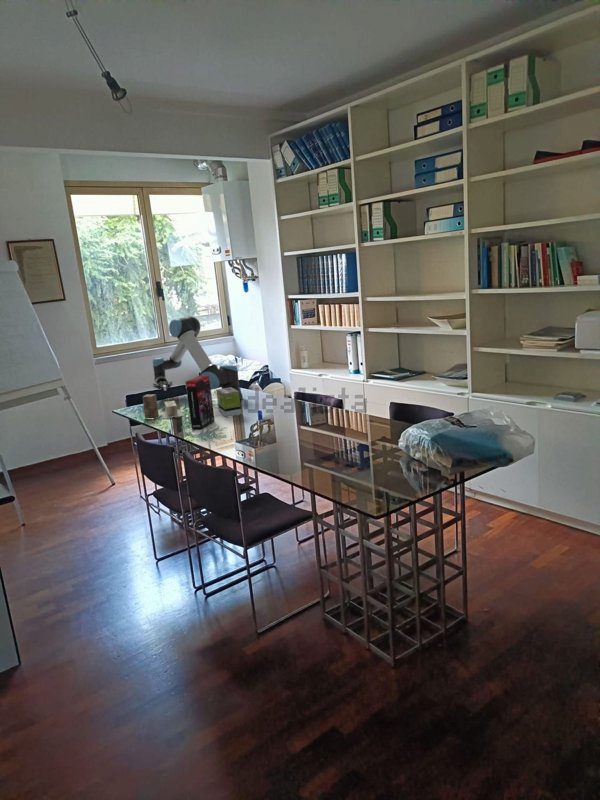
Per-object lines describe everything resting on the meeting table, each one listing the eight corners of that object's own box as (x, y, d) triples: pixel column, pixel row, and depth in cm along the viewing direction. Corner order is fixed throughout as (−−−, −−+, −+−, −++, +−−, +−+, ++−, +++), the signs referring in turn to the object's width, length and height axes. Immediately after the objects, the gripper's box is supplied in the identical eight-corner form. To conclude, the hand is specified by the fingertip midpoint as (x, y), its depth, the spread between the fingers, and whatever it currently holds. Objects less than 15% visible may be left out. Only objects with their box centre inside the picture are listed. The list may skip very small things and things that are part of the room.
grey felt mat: (180, 410, 369) (180, 409, 369) (183, 416, 352) (183, 415, 352) (160, 412, 366) (160, 412, 366) (163, 419, 349) (163, 418, 349)
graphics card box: (201, 430, 319) (196, 381, 313) (190, 429, 321) (184, 381, 315) (215, 421, 335) (210, 375, 329) (204, 421, 337) (199, 375, 331)
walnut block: (158, 416, 356) (156, 394, 353) (154, 419, 350) (151, 396, 347) (149, 416, 357) (146, 394, 354) (145, 419, 352) (142, 396, 349)
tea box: (218, 412, 356) (215, 389, 352) (233, 410, 360) (231, 386, 356) (225, 417, 342) (223, 393, 339) (242, 414, 346) (239, 390, 343)
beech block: (174, 400, 368) (176, 405, 353) (175, 409, 369) (177, 415, 354) (164, 401, 366) (166, 407, 351) (165, 411, 368) (167, 416, 353)
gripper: (172, 386, 403) (176, 392, 381) (152, 389, 399) (155, 395, 377) (170, 376, 401) (174, 381, 379) (151, 378, 397) (154, 384, 375)
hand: (165, 388), depth 378 cm, fingers closed
